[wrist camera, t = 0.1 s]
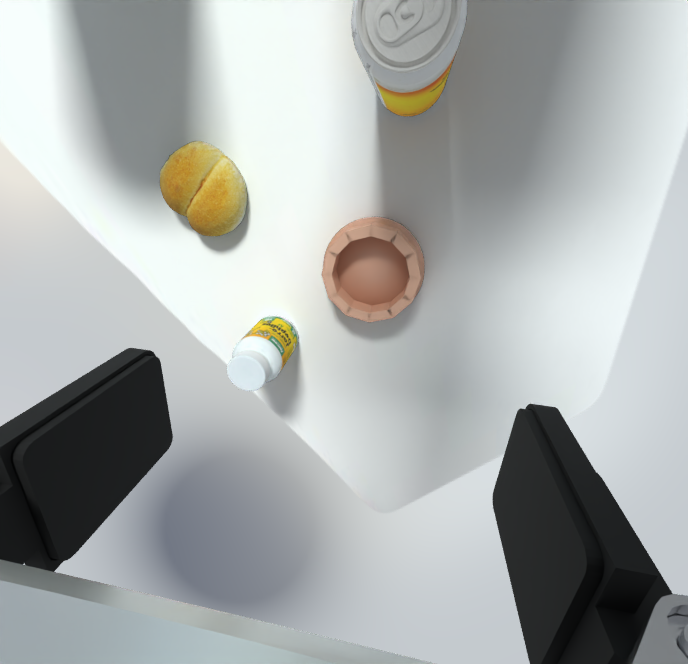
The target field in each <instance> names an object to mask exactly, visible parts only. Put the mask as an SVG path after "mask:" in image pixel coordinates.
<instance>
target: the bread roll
mask: <svg viewBox="0 0 688 664" xmlns="http://www.w3.org/2000/svg"><path fill="white" fill-rule="evenodd" d="M160 188H161V192H162V195H163V198H164V199H165V201H166V203H167V204H168V205H169V207H170V208H171V209H173V210H174V211H176V212H177V213H179V214H181V215H183V216H187V218H188V221H189V223H190V225H191V227H192V228H193V229H194V230H195V231H196V232H198V233H199V234H202V235H205V236H220V235H223V234H226V233H228V232H231V231H233V230H234V229H235V228H236V227H237V226H238V225H239V224H240V223H241V221H242V219H243V217H244V215H245V211H246V205H247V190H246V185H245V182H244V179H243V177H242V175H241V173H240V171H239V169H238V168H237V167H236V165H235V164H234V163H233V161H231V160H230V159H229V158H228V157H227V156H225V155H224V154H223V153H222V152H221V151H220V150H219V149H218V148H216V147H214V146H212V145H210V144H208V143H205V142H201V141H194V142H191V143H189V144H187V145H185V146H183V147H181V148H180V149H178V150H177V151H175V152H174V153H173V154H171V155H170V156H169V159H168V160H167V161H166V163H165V164H164V166H163V167H162V169H161V170H160Z"/></svg>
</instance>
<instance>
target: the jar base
mask: <svg viewBox="0 0 688 664" xmlns="http://www.w3.org/2000/svg"><path fill="white" fill-rule="evenodd" d="M322 277H323V281H324V284H325V288H326V291H327V294H328V298H329V299H330V300H331V301H332V302H333V303H334V304H335V305H336V306H337V307H338V308H339V309H340V310H341V311H342V312H343V313H344V314H345V315H347V316H350V317H353V318H356V319H360V320H363V321H366V322H374V321H380V320H385V319H390V318H394V317H395V316H396V315H397V314H399V313H400V312H401V311H402V310H403V309H405V308H406V307H407V306H408V305H409V304H411V303H412V302H413V299H414V298H415V297H416V295H417V293H418V292H419V290H420V288H421V285H422V282H423V278H424V257H423V254H422V250H421V248H420V245H419V243H418V242H417V240H416V238H415V237H414V236H413V235H412V233H411V232H410V231H409V230H408V229H407V228H405V227H404V226H402V225H401V224H399V223H397V222H395V221H393V220H390V219H387V218H382V217H366V218H361V219H358V220H355V221H353V222H351V223H349V224H348V225H346V226H345V227H343V228H342V229H341V230H340V231H339V232H338V233H337V234H336V235H335V236H334V237H333V238H332V240H331V242H330V243H329V245H328V247H327V249H326V253H325V256H324V262H323V271H322Z"/></svg>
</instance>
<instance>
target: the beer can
mask: <svg viewBox="0 0 688 664" xmlns="http://www.w3.org/2000/svg"><path fill="white" fill-rule="evenodd" d="M466 18H467V0H354V3H353V9H352V19H351V21H352V35H353V40H354V44H355V47H356V50H357V53H358V55H359V57H360V59H361V61H362V63H363V65H364V67H365V70H366V72H367V74H368V76H369V78H370V80H371V82H372V84H373V86H374V88H375V90H376V92H377V94H378V96H379V98H380V100H381V102H382V103H383V105H384V106H385V107H386V108H387V109H388V110H390V111H391V112H393V113H395V114H397V115H400V116H415V115H418V114H421V113H423V112H425V111H426V110H428V109H429V108H430V107H431V106H432V105H433V104H434V103H435V102H436V101H437V100H438V98H439V97H440V95H441V93H442V91H443V89H444V86H445V84H446V81H447V78H448V75H449V72H450V69H451V66H452V63H453V60H454V57H455V55H456V52H457V49H458V46H459V43H460V40H461V37H462V34H463V31H464V27H465V23H466Z"/></svg>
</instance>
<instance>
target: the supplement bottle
mask: <svg viewBox="0 0 688 664" xmlns="http://www.w3.org/2000/svg"><path fill="white" fill-rule="evenodd" d="M297 344H298V333H297V330H296V328H295V326H294V325H293V323H292V322H290V321H289V320H288V319H286V318H284V317H282V316H277V315H272V316H267V317H264V318H263V319H261V320H260V321H259V322H258V323H257V324H256V325H255V326H254V327H253V328H252V329H251V330H250V331H249V332H248V333H247V334H246V335H245V336H244V337H243V338H242V339H241V340H240V341H239V342H238V343H237V344H236V346H235V348H234V350H233V353H232V359H231V360H230V362H229V363H228V366H227V373H228V376H229V379H230V380H231V382H232V383H233V384H234V385H235V386H236V387H238V388H240V389H242V390H246V391H255V390H258V389H259V388H261V387H262V386H263V385H264V383H266V382H269V381H271V380H273V379H274V378H275V377H277V375H278V374H279V373H280V371H281V370H282V368H283V366H284V365H285V363H286V362H287V360H288V359H289V357H290V356H291V354H292V353H293V351H294V350H295V348H296V346H297Z"/></svg>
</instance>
